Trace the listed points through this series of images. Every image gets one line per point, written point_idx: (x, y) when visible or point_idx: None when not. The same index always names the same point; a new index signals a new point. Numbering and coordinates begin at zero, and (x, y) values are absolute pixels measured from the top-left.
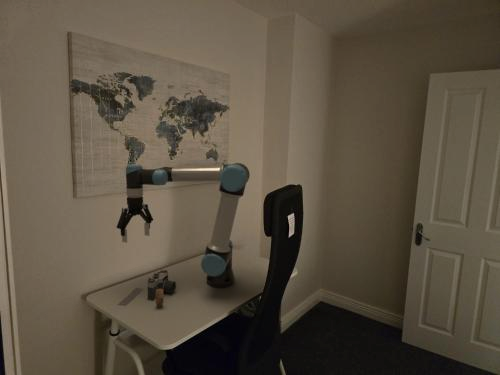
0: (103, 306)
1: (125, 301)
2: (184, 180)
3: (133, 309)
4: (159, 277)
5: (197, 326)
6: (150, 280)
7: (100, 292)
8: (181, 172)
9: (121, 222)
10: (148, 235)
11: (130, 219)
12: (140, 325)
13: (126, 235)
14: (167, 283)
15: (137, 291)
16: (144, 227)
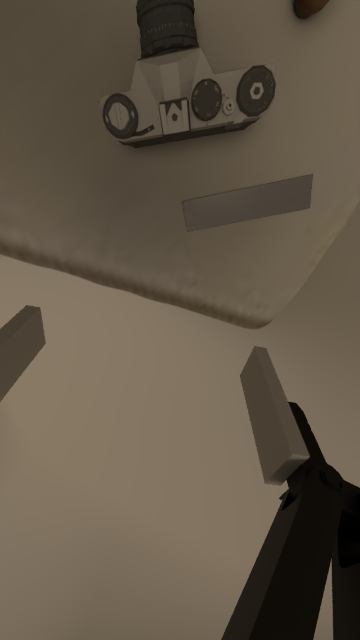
0: (326, 241)
1: (286, 196)
2: None
3: (337, 121)
4: (195, 81)
5: None
6: (264, 93)
7: (247, 305)
8: None
9: None
10: (35, 309)
11: (257, 620)
12: None
13: (277, 392)
14: (184, 30)
15: (208, 208)
16: (4, 394)
